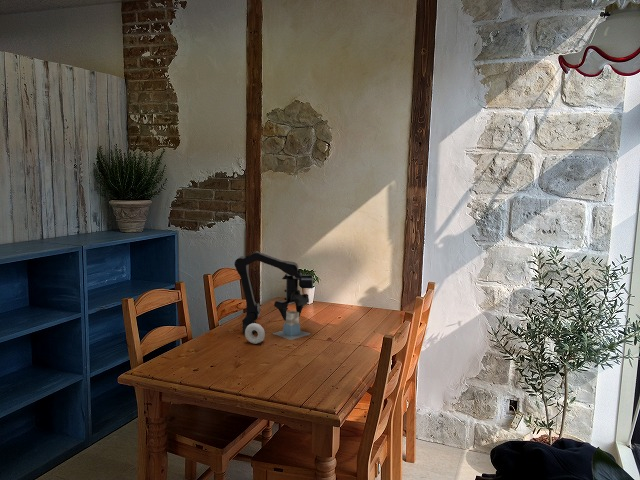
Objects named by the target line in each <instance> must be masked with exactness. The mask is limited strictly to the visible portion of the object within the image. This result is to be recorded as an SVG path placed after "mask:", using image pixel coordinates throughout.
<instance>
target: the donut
mask: <svg viewBox="0 0 640 480" xmlns="http://www.w3.org/2000/svg"><path fill="white" fill-rule="evenodd" d="M253 330H255V331H257V332H256V333H257V336H255V335H254V334H252V331H253ZM265 335H266V332H265V329H264V327H262V325H261V324H259V323H257V322H256V323H252V324H249V325H248V326H247V328H246V330H245V334H244V336H245V338H246V340H247V341H248V342H250V343H251V344H254V345H255V344H257V345H258V344H261V343H263V341H264V340H265V338H266V337H265Z"/></svg>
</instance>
